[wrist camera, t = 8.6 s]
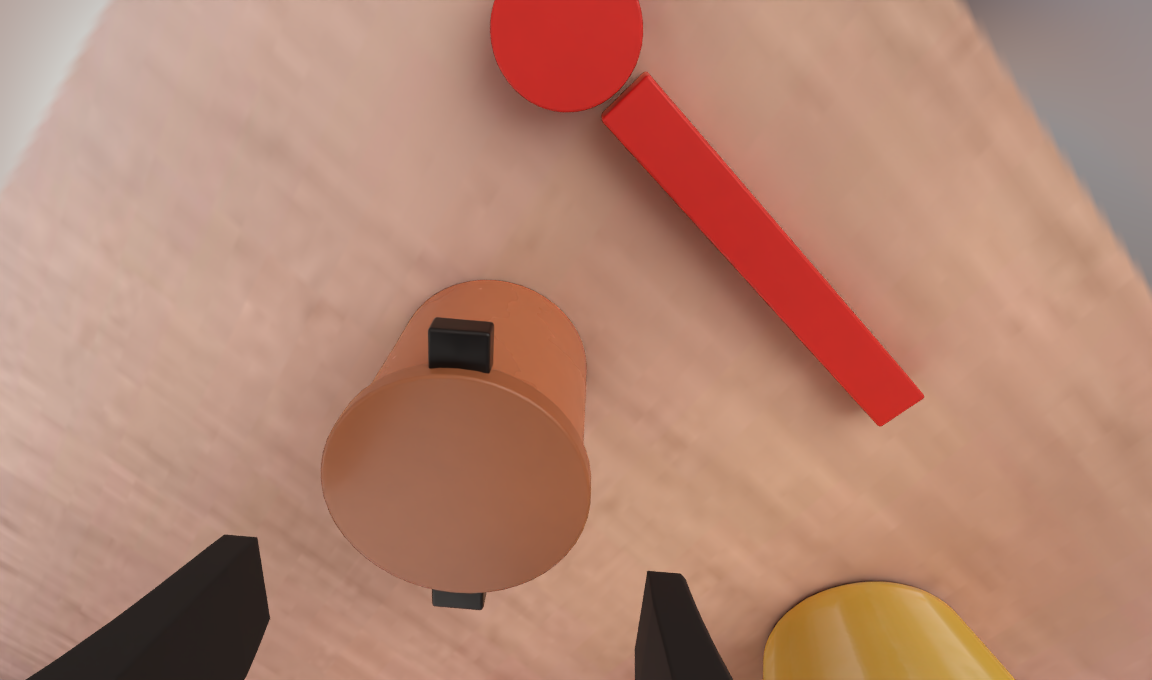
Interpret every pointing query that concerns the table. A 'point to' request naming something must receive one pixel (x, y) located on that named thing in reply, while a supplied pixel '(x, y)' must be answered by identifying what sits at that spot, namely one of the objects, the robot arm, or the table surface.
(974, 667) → the flower pot
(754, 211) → the red spoon
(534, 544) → the copper pot
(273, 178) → the table surface
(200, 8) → the table surface
